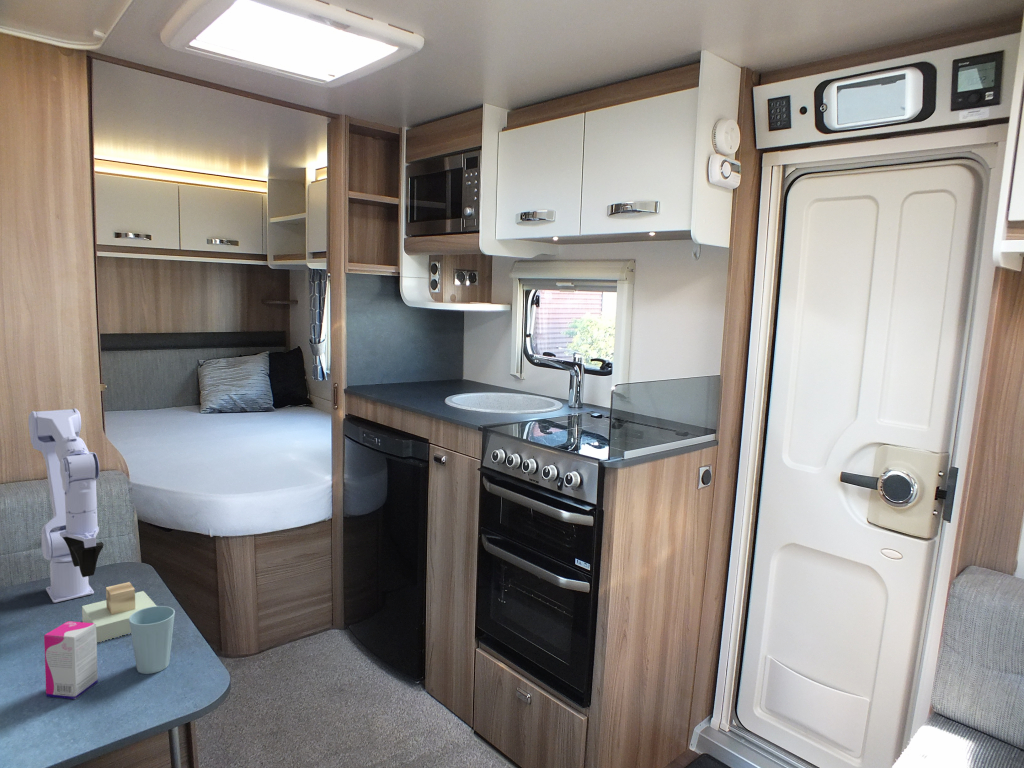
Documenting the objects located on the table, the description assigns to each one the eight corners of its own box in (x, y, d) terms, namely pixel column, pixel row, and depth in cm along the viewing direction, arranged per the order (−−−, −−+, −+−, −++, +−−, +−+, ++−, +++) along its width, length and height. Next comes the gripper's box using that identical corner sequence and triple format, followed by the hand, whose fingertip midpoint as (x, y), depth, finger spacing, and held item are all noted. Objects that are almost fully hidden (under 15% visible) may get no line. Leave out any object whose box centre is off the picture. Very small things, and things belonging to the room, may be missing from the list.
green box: (82, 623, 143) (81, 606, 143) (143, 607, 151) (143, 590, 151) (96, 645, 135) (95, 627, 134) (160, 627, 143) (160, 609, 143)
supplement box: (99, 681, 122) (97, 622, 120) (75, 700, 116) (72, 638, 114) (70, 678, 122) (67, 619, 121) (44, 697, 116) (41, 635, 115)
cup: (158, 679, 123) (157, 626, 122) (120, 675, 124) (119, 622, 123) (183, 658, 131) (183, 608, 129) (147, 654, 132) (146, 604, 130)
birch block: (106, 607, 143) (105, 587, 142) (130, 601, 146) (129, 581, 145) (111, 615, 139) (110, 594, 139) (135, 608, 142) (134, 589, 142)
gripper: (52, 505, 145) (55, 565, 147) (66, 521, 135) (69, 585, 136) (89, 499, 150) (91, 557, 151) (106, 514, 140) (108, 576, 141)
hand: (83, 570), depth 144 cm, fingers open, 7 cm apart
